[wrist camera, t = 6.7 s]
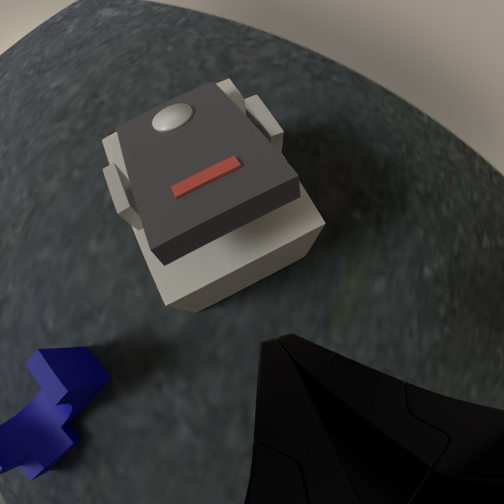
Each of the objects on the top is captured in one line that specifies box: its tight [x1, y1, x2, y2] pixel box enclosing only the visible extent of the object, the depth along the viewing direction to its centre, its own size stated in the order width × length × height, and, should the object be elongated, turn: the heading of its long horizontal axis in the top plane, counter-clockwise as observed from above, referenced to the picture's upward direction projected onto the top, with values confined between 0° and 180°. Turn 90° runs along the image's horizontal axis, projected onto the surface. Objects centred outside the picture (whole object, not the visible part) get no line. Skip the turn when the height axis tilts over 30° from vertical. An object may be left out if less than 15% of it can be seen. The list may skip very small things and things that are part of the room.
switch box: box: [102, 79, 325, 312], centre depth 17 cm, size 10×8×9 cm
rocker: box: [116, 81, 300, 266], centre depth 13 cm, size 8×6×1 cm, turn 29°
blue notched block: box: [0, 347, 112, 480], centre depth 16 cm, size 12×4×6 cm, turn 136°
